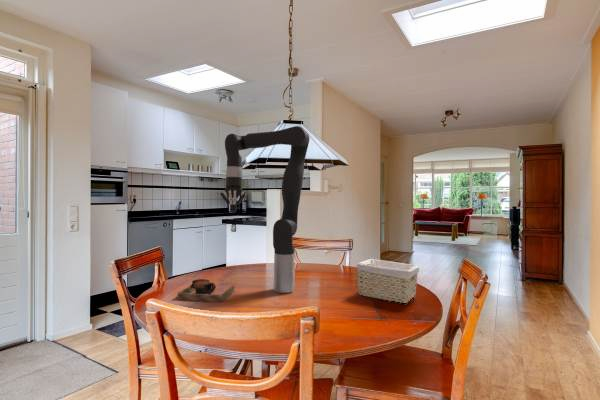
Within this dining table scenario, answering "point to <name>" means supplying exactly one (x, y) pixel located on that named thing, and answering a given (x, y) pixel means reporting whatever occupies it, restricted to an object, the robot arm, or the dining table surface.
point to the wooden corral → (204, 295)
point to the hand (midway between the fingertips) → (233, 212)
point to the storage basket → (387, 280)
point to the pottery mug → (203, 286)
